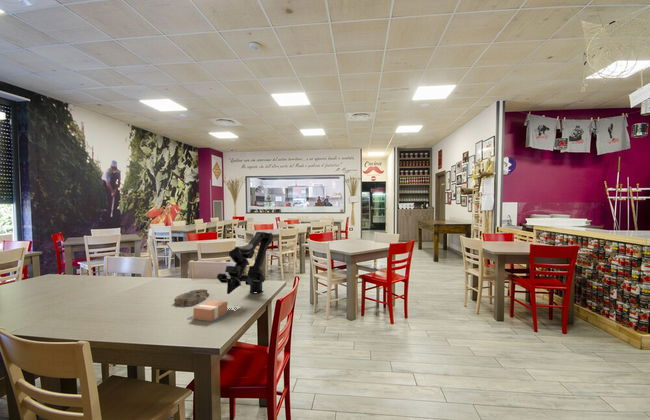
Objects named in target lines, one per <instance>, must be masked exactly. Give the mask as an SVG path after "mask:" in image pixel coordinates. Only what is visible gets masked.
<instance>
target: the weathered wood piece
mask: <svg viewBox="0 0 650 420" xmlns="http://www.w3.org/2000/svg"><path fill="white" fill-rule="evenodd" d="M209 296H210V293H208V289H204V288H203V289H202V288H201V289H200V288H199V289H194V290H190V291H189V292H188V291H187V292H184V293H181V294H179V295H177V296H175V297H174V299H173V301H174V304H175V305H177V306H182V305H184V306H186V307H187V306H188V307H189V306H195V305H197V304H200V303H202V302H203V300H204V301H206V300H207V299H208V298H209ZM207 297H208V298H207ZM206 298H207V299H206Z"/></svg>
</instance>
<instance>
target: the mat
mask: <svg viewBox="0 0 650 420" xmlns="http://www.w3.org/2000/svg"><path fill="white" fill-rule="evenodd" d="M239 306H240V305H239ZM240 307H242V306H240ZM235 308H236V307H235ZM235 308H234V309H235ZM227 309H228V308H227ZM229 309H230V308H229ZM229 309H228V310H227V313H225V314H223V315H221V316H220V317H218V318H216V319H214V320H212V321H206V320H198V319H193V315H191V316H190V317H187V318H186V320H191V321H198V322H204V323H206V322H207V323H211V324H212V323H213V324H217V323H219V322H220V321H222V320H224V319H226V318H227V317H229V316H231V315H232V314H234V313H235V312H238V310H236V309H237V308H236V309H235V310H236V311H234V310H231V309H232V308H231V309H230V310H229ZM239 310H241V309H240V308H239Z"/></svg>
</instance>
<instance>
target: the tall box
mask: <svg viewBox="0 0 650 420" xmlns="http://www.w3.org/2000/svg"><path fill="white" fill-rule="evenodd" d="M227 305H228V301H224V300H213V299H210V300H208V301H206V302H203V303H201V304H199V305H197V306H195V307H193V315H192V316H193V319H198V320H206V321H212V320H214V319H216V318H218V317H220V316H221V315H223V314H225V313H227Z"/></svg>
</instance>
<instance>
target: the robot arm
mask: <svg viewBox="0 0 650 420" xmlns="http://www.w3.org/2000/svg"><path fill="white" fill-rule="evenodd" d="M273 240H274V234H273V233H272V232H265V231H260V230H259V231H255V234H254V236H253V237H252V238H251V239H250V241H249V242H248V244H246V245H244V246H243V247H241V248H240V247H239V246H235V247H234V248H233V249H231V250H230V251H229V253H228V255H229V257H230V258H231V260H232V261H233V263H235V264H234V266H233V265H226V267H225V271H224V272H225V273H221V272H220V273H218V274H217V276H216V278H217V280H218V281H219V283H221V284H227V288H226V294H227V295H230V294H231V293H232V292H233V291H234V290H236V289H237V288H238V287H241V286H242V282H244V284H245V285H246V286H249V287H250V289H249V291H250V292H249V293H252V292H260V293H262V292H261V291H262V290H263V283H264V282H265V281H266V280H265V279H266V278H265V276H264V272H263V271H264V270H263V263H264V261H265V260H264V259H265V257H266V253H267V250H268V247H269V246H270V245H271V244H272V242H273ZM258 245H259V246H258ZM257 247H258V250H257V253H256V256H255V260H254V263H253V265H252V266H250V262H249V260H248V259H250V260H251V259H253V257H254V255H255V249H256V248H257ZM247 266H249V268H248V271H247V274H245V273H246V272H245V270H246V268H247ZM226 273H227V274H226Z"/></svg>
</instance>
